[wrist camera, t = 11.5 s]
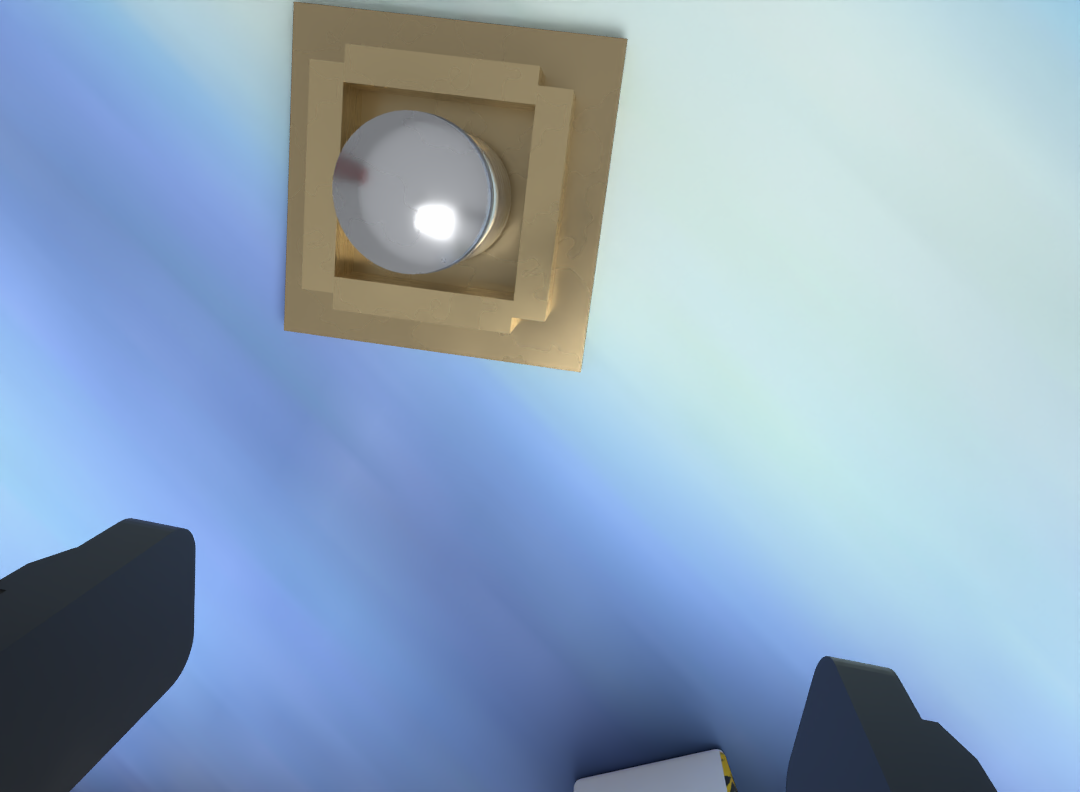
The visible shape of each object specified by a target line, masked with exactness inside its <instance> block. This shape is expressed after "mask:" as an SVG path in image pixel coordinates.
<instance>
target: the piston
mask: <svg viewBox="0 0 1080 792" xmlns="http://www.w3.org/2000/svg"><path fill="white" fill-rule="evenodd" d="M332 193H333V202H334V208H335V211H336V215H337V218H338V221H339V223H340V226H341V228H342V229H343V231H344V233H345V235H346V236H347V238H348V239H349V241H350V242H351V244H352V245H353V246H354V247H355V248H356V249H357V250H358V251H359V252H360V253H361V254H362V255H363V256H365V257H366V258H367V259H368V260H370V261H371V262H373V263H374V264H376V265H378V266H380V267H382V268H384V269H387V270H390V271H393V272H398V273H402V274H428V273H433V272H438V271H441V270H444V269H446V268H449V267H451V266H453V265H455V264H457V263H459V262H461V261H463V260H466V259H469V258H472V257H474V256H476V255H478V254H480V253H482V252H483V251H485V250H486V249H487V248H489V247H490V246H491V245H492V244H493V243H494V242H495V241H496V239H497V238H498V237H499V236H500V234H501V232H502V231H503V229H504V227H505V225H506V223H507V220H508V217H509V214H510V208H511V186H510V181H509V177H508V174H507V171H506V169H505V167H504V165H503V163H502V161H501V159H500V158H499V156H498V155H497V154H496V153H495V151H494V150H493V149H492V148H491V147H490V146H489V145H488V144H487V143H485V142H484V141H483V140H481V139H480V138H478V137H476V136H474V135H472V134H470V133H468V132H466V131H464V130H462V129H461V128H460V127H458V126H457V125H455V124H454V123H452V122H450V121H448V120H446V119H444V118H442V117H440V116H437V115H434V114H431V113H426V112H420V111H413V110H400V111H393V112H388V113H384V114H382V115H379V116H377V117H375V118H373V119H371V120H369V121H368V122H366V123H365V124H363V125H362V126H361V127H360V128H358V129H357V130H356V131H355V132H354V133H353V134H352V135H351V137H350V138H349V139H348V141H347V142H346V143H345V145H344V147H343V149H342V151H341V152H340V154H339V157H338V160H337V162H336V166H335V170H334V174H333V183H332Z"/></svg>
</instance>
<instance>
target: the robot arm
mask: <svg viewBox="0 0 1080 792" xmlns="http://www.w3.org/2000/svg"><path fill="white" fill-rule="evenodd" d="M194 598H195V541H194V538H193V535H192V534H191V532H190V531H189V530H187V529H184V528H179V527H174V526H169V525H164V524H159V523H153V522H148V521H143V520H138V519H133V518H128V519H124V520H122V521H120V522H118V523H117V524H115V525H113V526H112V527H110V528H108V529H107V530H105V531H104V532H102V533H100V534H99V535H97V536H95V537H94V538H92V539H90V540H89V541H87V542H85V543H84V544H82V545H80V546H79V547H77V548H73V549H70V550H67V551H64V552H61V553H58V554H55V555H52V556H49V557H46V558H43V559H40V560H37V561H34V562H31V563H28V564H26V565H25V566H23V567H21V568H20V569H18V570H16V571H14V572H13V573H11V574H9V575H8V576H6V577H4V578H2V579H1V580H0V792H70V790H71V789H72V788H73V787H74V786H75V785H76V784H77V783H78V782H79V781H80V780H81V779H82V778H83V777H84V776H85V775H86V774H87V773H88V772H89V771H90V770H91V769H92V768H93V767H94V766H95V765H96V764H97V763H98V762H99V761H100V760H101V759H102V758H103V756H104V755H105V754H106V753H107V752H108V751H109V750H110V749H111V748H112V747H113V746H114V745H115V744H116V743H117V742H118V741H119V740H120V739H121V738H122V737H123V736H124V735H125V734H126V733H127V732H128V731H129V730H130V729H131V728H132V727H133V726H134V725H135V724H136V722H137V721H138V720H139V719H140V718H141V717H142V716H143V715H144V714H145V713H146V712H147V711H148V710H149V709H150V708H151V707H152V706H153V705H154V704H155V703H156V702H157V701H158V700H159V699H160V698H161V697H162V696H163V695H164V694H165V693H166V692H167V691H168V690H169V688H170V687H171V686H172V685H173V684H174V683H175V681H176V680H177V679H178V677H179V676H180V674H181V672H182V671H183V669H184V667H185V665H186V662H187V660H188V657H189V654H190V651H191V647H192V643H193V636H194ZM786 792H997V790H996V789H995V787H994V786H993V784H992V782H991V781H990V779H989V778H988V776H987V774H986V773H985V771H984V770H983V768H982V766H981V765H980V763H979V762H978V760H977V759H976V758H975V757H974V756H973V755H972V754H971V753H970V752H969V751H968V750H967V749H966V748H964V747H963V746H962V745H961V744H960V743H959V742H958V741H957V740H956V739H955V738H954V737H953V736H952V735H951V734H949V733H948V732H947V731H946V730H945V729H944V728H943V727H942V726H941V725H940V724H939V723H938V722H933V721H928V720H923V719H921V717H920V715H919V713H918V712H917V710H916V708H915V706H914V704H913V703H912V701H911V699H910V697H909V696H908V694H907V692H906V690H905V688H904V687H903V685H902V683H901V681H900V680H899V678H898V676H897V675H896V673H895V672H894V671H893V670H892V669H889V668H885V667H880V666H875V665H870V664H865V663H860V662H855V661H850V660H845V659H840V658H834V657H829V656H825V657H823V658H822V659H821V660H820V661H819V663H818V665H817V667H816V669H815V672H814V676H813V679H812V683H811V686H810V690H809V693H808V697H807V700H806V704H805V708H804V711H803V715H802V718H801V722H800V725H799V729H798V732H797V736H796V739H795V743H794V747H793V750H792V754H791V757H790V761H789V766H788V772H787V782H786Z"/></svg>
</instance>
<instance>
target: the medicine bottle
mask: <svg viewBox="0 0 1080 792" xmlns="http://www.w3.org/2000/svg"><path fill="white" fill-rule="evenodd" d="M574 792H738V791H737V789H736V786H735V783H734V780H733V777H732V774H731V771H730V768H729V765H728V762H727V759H726V756H725V755H724V753H723V752H722V751H721V750H719V749H713V750H709V751H704V752H700V753H695V754H691V755H686V756H682V757H677V758H672V759H668V760H663V761H659V762H654V763H650V764H645V765H641V766H636V767H632V768H627V769H623V770H618V771H614V772H609V773H605V774H600V775H596V776H591V777H586V778H582V779H579V780H577V781H576V783H575V785H574Z"/></svg>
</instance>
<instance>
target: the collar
mask: <svg viewBox="0 0 1080 792" xmlns="http://www.w3.org/2000/svg"><path fill="white" fill-rule="evenodd" d="M626 47H627V39H623V38H614V37H605V36H596V35H587V34H578V33H570V32H561V31H552V30H543V29H534V28H525V27H516V26H507V25H498V24H489V23H480V22H471V21H462V20H453V19H444V18H435V17H427V16H418V15H409V14H400V13H391V12H382V11H373V10H364V9H355V8H346V7H337V6H328V5H319V4H310V3H301V2H294V11H293V45H292V79H291V113H290V147H289V181H288V215H287V249H286V283H285V317H284V330H285V331H292V332H299V333H306V334H313V335H320V336H327V337H334V338H341V339H349V340H356V341H363V342H370V343H377V344H384V345H391V346H398V347H405V348H412V349H420V350H427V351H434V352H441V353H448V354H455V355H462V356H469V357H476V358H484V359H491V360H498V361H505V362H512V363H519V364H526V365H533V366H540V367H547V368H555V369H562V370H569V371H576V372H581V367H582V360H583V353H584V346H585V339H586V332H587V325H588V317H589V310H590V303H591V296H592V289H593V282H594V275H595V268H596V260H597V253H598V246H599V239H600V232H601V225H602V218H603V211H604V203H605V196H606V189H607V182H608V175H609V168H610V161H611V154H612V146H613V139H614V132H615V125H616V118H617V111H618V104H619V97H620V89H621V82H622V75H623V68H624V61H625V54H626ZM400 110H413V111H420V112H426V113H431V114H434V115H437V116H440V117H442V118H444V119H446V120H448V121H450V122H452V123H454V124H455V125H457V126H458V127H460V128H461V129H462V130H464V131H466V132H468V133H470V134H472V135H474V136H476V137H478V138H480V139H481V140H483V141H484V142H485V143H487V144H488V145H489V146H490V147H491V148H492V149H493V150H494V151H495V153H496V154H497V155H498V156H499V158H500V159H501V161H502V163H503V165H504V167H505V169H506V171H507V174H508V177H509V181H510V186H511V208H510V214H509V217H508V220H507V223H506V225H505V227H504V229H503V231H502V232H501V234H500V236H499V237H498V238H497V239H496V241H495V242H494V243H493V244H492V245H491V246H490V247H489V248H487V249H486V250H485V251H483V252H482V253H480V254H478V255H476V256H474V257H472V258H469V259H466V260H463V261H461V262H459V263H457V264H455V265H453V266H451V267H449V268H446V269H444V270H441V271H438V272H433V273H428V274H402V273H398V272H393V271H390V270H387V269H384V268H382V267H380V266H378V265H376V264H374V263H373V262H371V261H370V260H368V259H367V258H366V257H365V256H363V255H362V254H361V253H360V252H359V251H358V250H357V249H356V248H355V247H354V246H353V245H352V244H351V242H350V241H349V239H348V238H347V236H346V235H345V233H344V231H343V229H342V228H341V226H340V223H339V221H338V218H337V215H336V211H335V208H334V202H333V193H332V183H333V174H334V170H335V166H336V162H337V160H338V157H339V154H340V152H341V151H342V149H343V147H344V145H345V143H346V142H347V141H348V139H349V138H350V137H351V135H352V134H353V133H354V132H355V131H356V130H357V129H358V128H360V127H361V126H362V125H363V124H365V123H366V122H368V121H369V120H371V119H373V118H375V117H377V116H379V115H382V114H384V113H388V112H393V111H400Z"/></svg>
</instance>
